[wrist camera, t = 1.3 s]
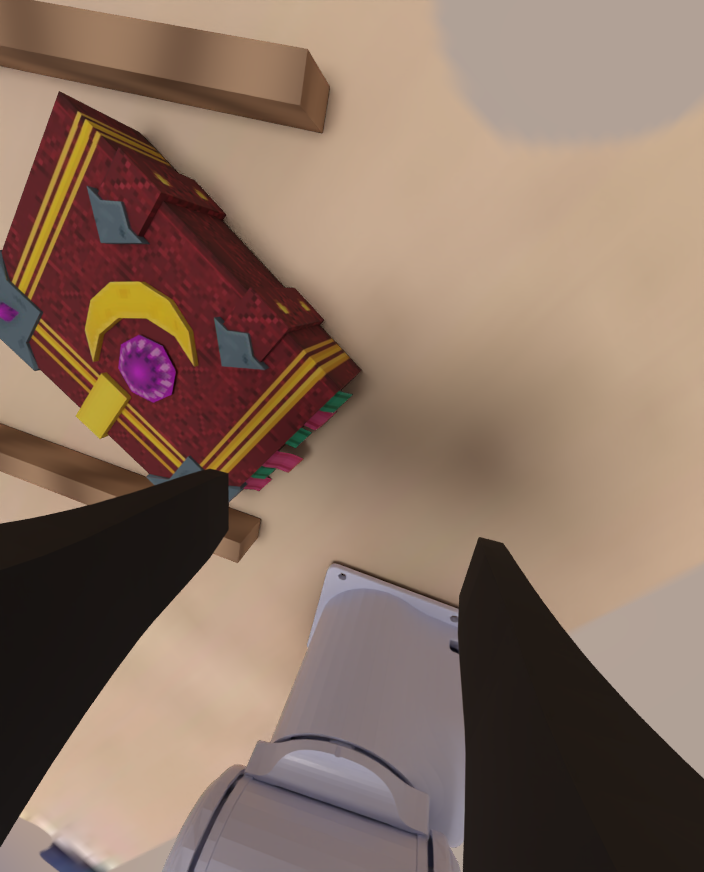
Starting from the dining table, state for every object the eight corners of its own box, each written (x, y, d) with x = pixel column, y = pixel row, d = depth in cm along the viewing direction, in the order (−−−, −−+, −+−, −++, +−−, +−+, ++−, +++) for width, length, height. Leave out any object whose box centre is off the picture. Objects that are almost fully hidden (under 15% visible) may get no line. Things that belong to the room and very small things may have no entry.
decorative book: (147, 127, 17) (38, 68, 12) (385, 383, 19) (364, 413, 14) (60, 309, 22) (-42, 314, 17) (256, 501, 23) (209, 552, 19)
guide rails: (329, 86, 15) (307, 49, 12) (257, 537, 24) (237, 563, 22) (-106, 3, 17) (-188, -39, 15) (-18, 434, 27) (-61, 447, 25)
